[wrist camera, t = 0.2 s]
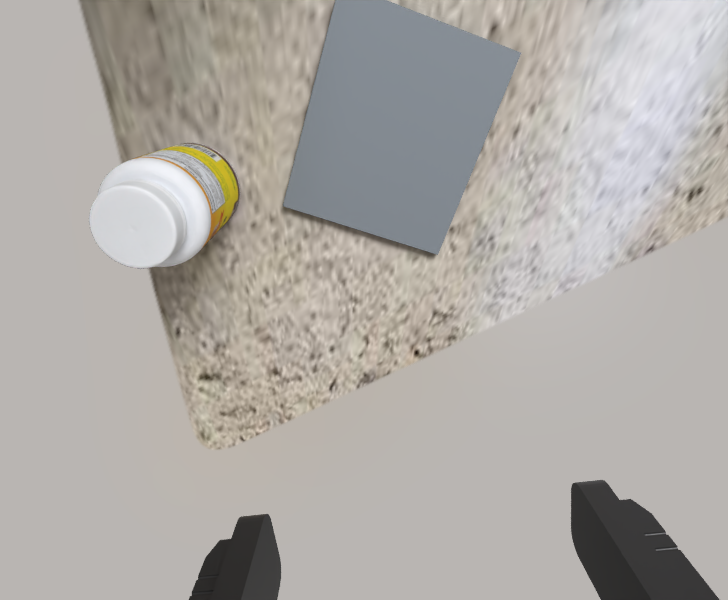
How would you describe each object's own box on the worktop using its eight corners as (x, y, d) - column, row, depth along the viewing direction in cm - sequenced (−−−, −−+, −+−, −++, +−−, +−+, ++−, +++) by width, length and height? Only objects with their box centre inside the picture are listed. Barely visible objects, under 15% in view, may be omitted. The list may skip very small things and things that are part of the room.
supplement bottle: (183, 238, 32) (112, 300, 23) (140, 159, 30) (42, 192, 20) (257, 210, 31) (215, 263, 22) (219, 128, 29) (154, 147, 20)
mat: (340, -16, 26) (340, -18, 26) (518, 53, 28) (521, 52, 27) (283, 204, 31) (282, 206, 31) (436, 252, 33) (437, 254, 32)
